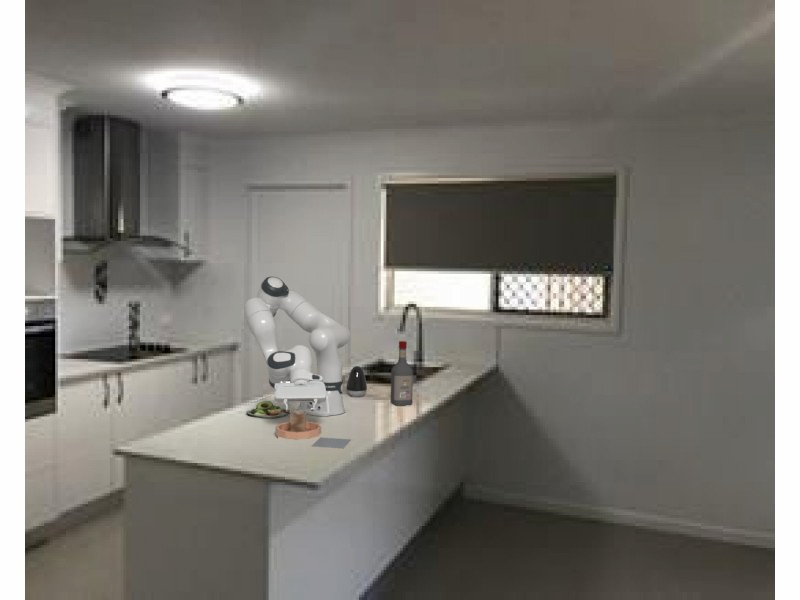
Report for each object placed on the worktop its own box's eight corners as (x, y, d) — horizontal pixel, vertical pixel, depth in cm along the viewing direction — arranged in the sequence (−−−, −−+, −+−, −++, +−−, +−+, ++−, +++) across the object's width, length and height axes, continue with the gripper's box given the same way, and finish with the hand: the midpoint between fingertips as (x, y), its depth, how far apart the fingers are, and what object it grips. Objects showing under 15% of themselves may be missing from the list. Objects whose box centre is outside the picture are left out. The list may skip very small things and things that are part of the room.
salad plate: (301, 414, 292) (302, 403, 292) (275, 422, 277) (275, 411, 276) (268, 408, 302) (268, 398, 301) (240, 416, 286) (240, 405, 286)
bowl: (269, 440, 248) (269, 430, 248) (284, 428, 265) (284, 420, 265) (313, 443, 246) (313, 433, 245) (325, 431, 262) (325, 422, 262)
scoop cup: (290, 435, 252) (290, 411, 252) (291, 431, 258) (291, 408, 257) (305, 434, 253) (305, 411, 252) (305, 431, 258) (305, 407, 258)
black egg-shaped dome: (343, 397, 327) (344, 367, 326) (350, 393, 337) (350, 363, 336) (363, 398, 324) (363, 368, 323) (369, 394, 334) (369, 365, 333)
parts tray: (311, 448, 238) (311, 446, 238) (320, 440, 250) (320, 437, 250) (343, 451, 236) (343, 448, 236) (351, 442, 248) (351, 439, 248)
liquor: (413, 405, 312) (415, 342, 310) (395, 406, 309) (396, 343, 307) (407, 401, 320) (408, 340, 318) (389, 402, 318) (390, 340, 316)
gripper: (274, 376, 261) (272, 406, 252) (326, 376, 263) (326, 405, 254) (275, 385, 266) (273, 415, 256) (326, 385, 268) (326, 414, 259)
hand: (300, 410), depth 255 cm, fingers open, 8 cm apart
